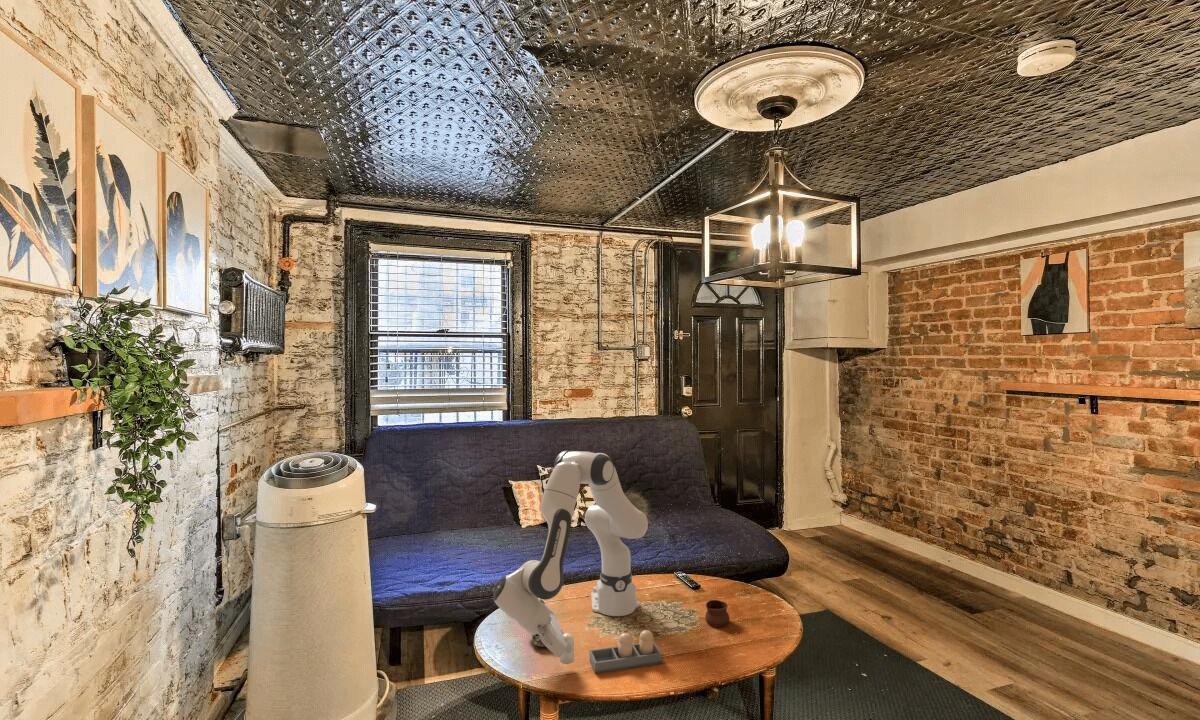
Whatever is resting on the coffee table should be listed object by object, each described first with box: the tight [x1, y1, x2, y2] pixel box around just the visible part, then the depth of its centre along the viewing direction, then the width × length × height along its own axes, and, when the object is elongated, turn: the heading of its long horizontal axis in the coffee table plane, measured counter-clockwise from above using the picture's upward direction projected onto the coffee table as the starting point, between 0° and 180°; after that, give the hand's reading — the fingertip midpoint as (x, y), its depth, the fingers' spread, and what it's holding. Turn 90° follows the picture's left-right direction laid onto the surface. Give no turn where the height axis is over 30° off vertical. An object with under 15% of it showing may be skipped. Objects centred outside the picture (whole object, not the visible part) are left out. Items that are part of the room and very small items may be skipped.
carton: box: [589, 629, 663, 675], centre depth 174 cm, size 8×22×9 cm, turn 104°
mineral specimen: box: [531, 634, 547, 648], centre depth 186 cm, size 12×9×8 cm
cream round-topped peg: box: [559, 632, 575, 665], centre depth 170 cm, size 4×4×8 cm
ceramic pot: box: [704, 599, 730, 629], centre depth 199 cm, size 18×18×7 cm
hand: (568, 645), depth 170 cm, fingers closed on cream round-topped peg, 4 cm apart
